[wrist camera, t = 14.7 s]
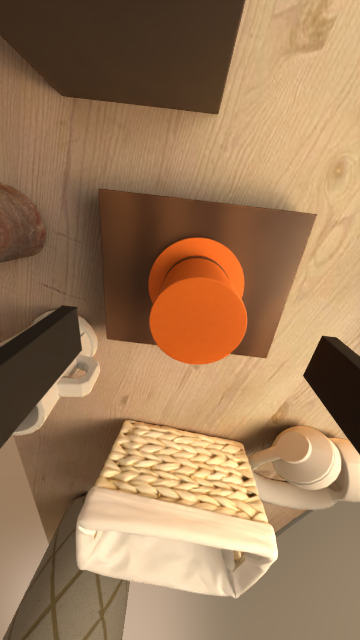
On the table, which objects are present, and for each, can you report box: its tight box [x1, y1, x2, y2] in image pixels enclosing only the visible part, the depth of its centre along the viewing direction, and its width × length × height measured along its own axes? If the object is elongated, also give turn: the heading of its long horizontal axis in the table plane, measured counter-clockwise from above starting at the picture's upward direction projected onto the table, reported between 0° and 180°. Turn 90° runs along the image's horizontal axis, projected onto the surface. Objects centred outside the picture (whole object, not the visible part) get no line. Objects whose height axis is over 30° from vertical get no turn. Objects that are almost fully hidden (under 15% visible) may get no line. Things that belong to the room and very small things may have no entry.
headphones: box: [247, 426, 360, 510], centre depth 35 cm, size 18×8×20 cm
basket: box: [76, 420, 278, 598], centre depth 32 cm, size 24×16×15 cm
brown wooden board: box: [99, 189, 317, 358], centre depth 23 cm, size 20×16×3 cm
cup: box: [0, 310, 100, 436], centre depth 24 cm, size 10×9×12 cm
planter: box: [3, 495, 130, 640], centre depth 41 cm, size 19×19×20 cm
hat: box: [149, 237, 247, 364], centre depth 18 cm, size 10×10×9 cm
